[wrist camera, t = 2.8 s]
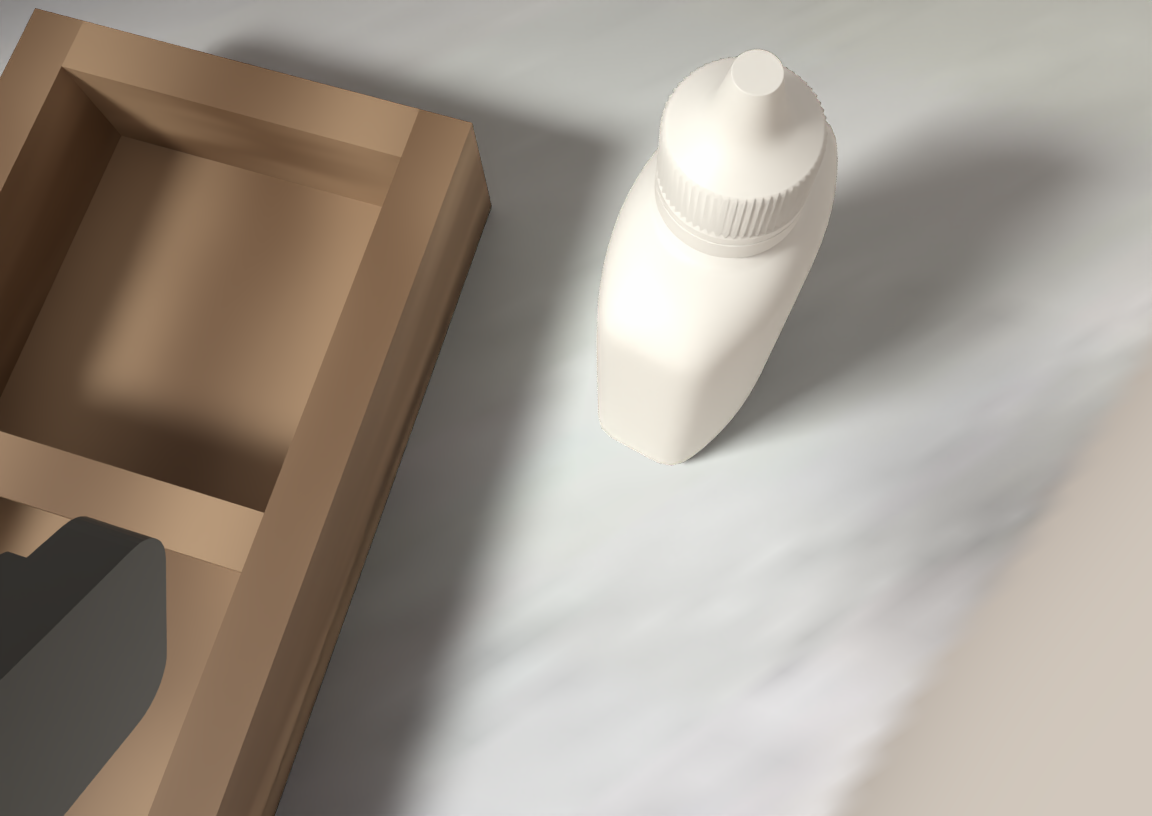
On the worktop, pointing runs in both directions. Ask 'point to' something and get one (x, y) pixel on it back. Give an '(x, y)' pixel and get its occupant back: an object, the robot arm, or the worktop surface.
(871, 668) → the worktop surface
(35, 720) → the robot arm
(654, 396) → the eye dropper bottle
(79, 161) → the walnut rack
